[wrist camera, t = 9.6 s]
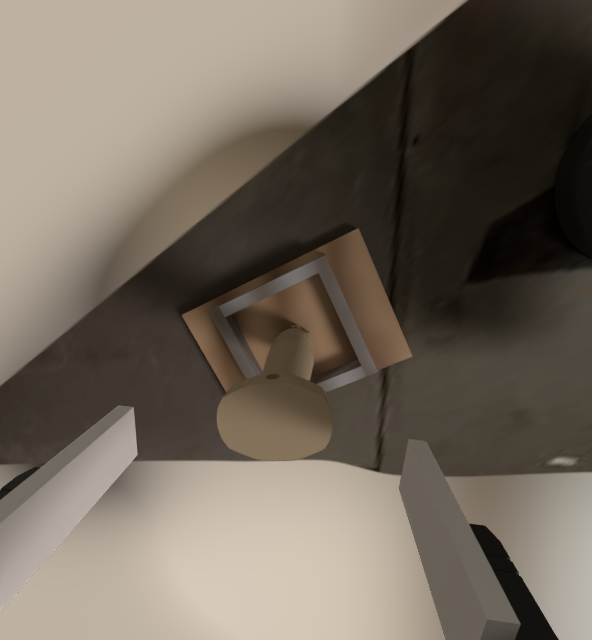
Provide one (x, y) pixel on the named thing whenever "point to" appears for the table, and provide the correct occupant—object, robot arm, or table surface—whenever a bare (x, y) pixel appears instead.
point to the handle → (278, 405)
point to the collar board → (305, 317)
